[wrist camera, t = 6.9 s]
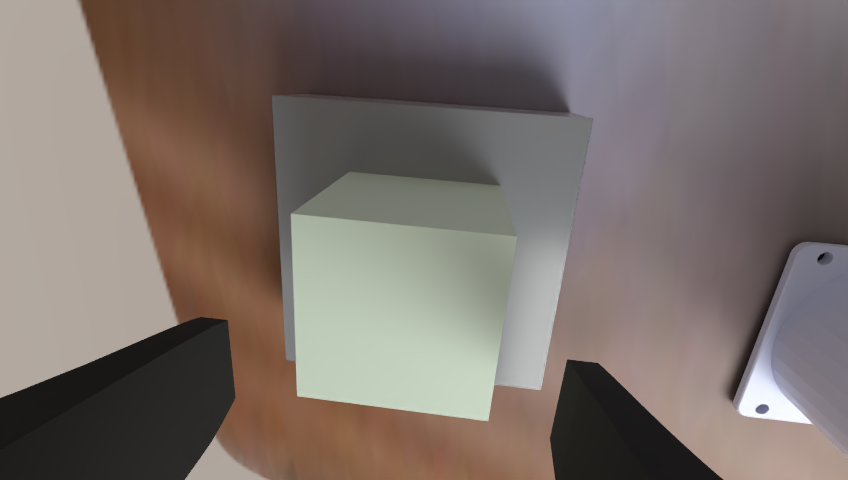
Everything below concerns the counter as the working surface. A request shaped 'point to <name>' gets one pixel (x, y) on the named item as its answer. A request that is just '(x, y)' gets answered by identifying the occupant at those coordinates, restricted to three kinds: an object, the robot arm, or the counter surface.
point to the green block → (402, 293)
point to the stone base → (451, 161)
